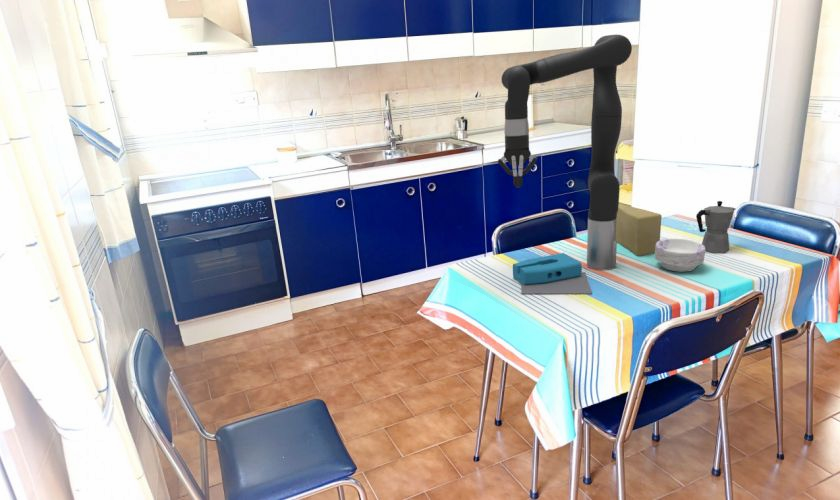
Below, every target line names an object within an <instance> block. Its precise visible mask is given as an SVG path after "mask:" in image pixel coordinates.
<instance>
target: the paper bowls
mask: <svg viewBox="0 0 840 500" xmlns="http://www.w3.org/2000/svg"><path fill="white" fill-rule="evenodd" d="M705 253H706V251H705V246H704V245H702V243H701V242H698V241H695V240H691V239H685V238H665V239H660V241H658V242H657V243H656V245H655V253H654V258H655V260H656V261H658V262H659V263H660V265H661V267H663V268H664V269H666V270H669V271H673V272H677V273H679V272H682V273H685V272H690V271H693V270H694V269H695V268H696V267H698V266H699V265H702V264H703V263H704V261H705Z"/></svg>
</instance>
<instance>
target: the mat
mask: <svg viewBox="0 0 840 500" xmlns="http://www.w3.org/2000/svg"><path fill="white" fill-rule="evenodd" d="M520 290H521V291H520V294H521V295H593V291H592V289H591V286H590V283H589V280H588V276H587V273H586V272H583V271H582V274H581V276H578V277H573V278H568V279H562V280H557V281H552V282H547V283H539V284H527V285H523V284H522V283H520Z"/></svg>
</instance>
